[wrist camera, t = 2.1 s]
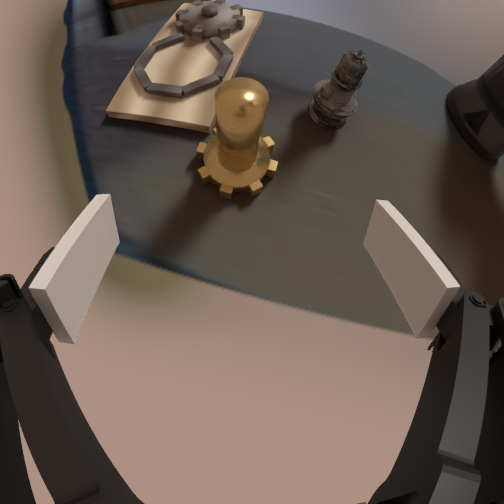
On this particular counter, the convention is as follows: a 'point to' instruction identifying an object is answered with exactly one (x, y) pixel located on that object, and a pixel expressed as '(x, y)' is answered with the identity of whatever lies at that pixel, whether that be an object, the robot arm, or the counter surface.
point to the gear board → (187, 66)
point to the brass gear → (238, 140)
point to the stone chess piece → (339, 92)
